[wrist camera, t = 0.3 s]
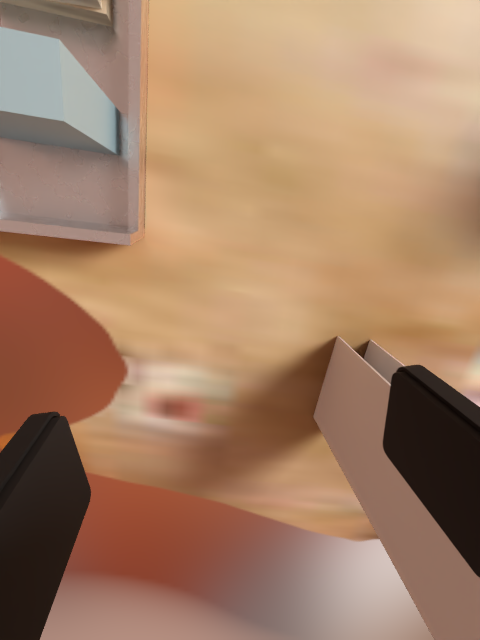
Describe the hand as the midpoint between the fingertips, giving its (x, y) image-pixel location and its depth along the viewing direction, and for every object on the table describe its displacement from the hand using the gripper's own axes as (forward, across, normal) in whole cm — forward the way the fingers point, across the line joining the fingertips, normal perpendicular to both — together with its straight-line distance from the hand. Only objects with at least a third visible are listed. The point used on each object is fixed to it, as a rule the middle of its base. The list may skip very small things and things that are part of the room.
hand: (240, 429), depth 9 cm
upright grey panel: (+31, -18, +20) cm, 41 cm away
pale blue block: (+30, +14, -14) cm, 36 cm away
